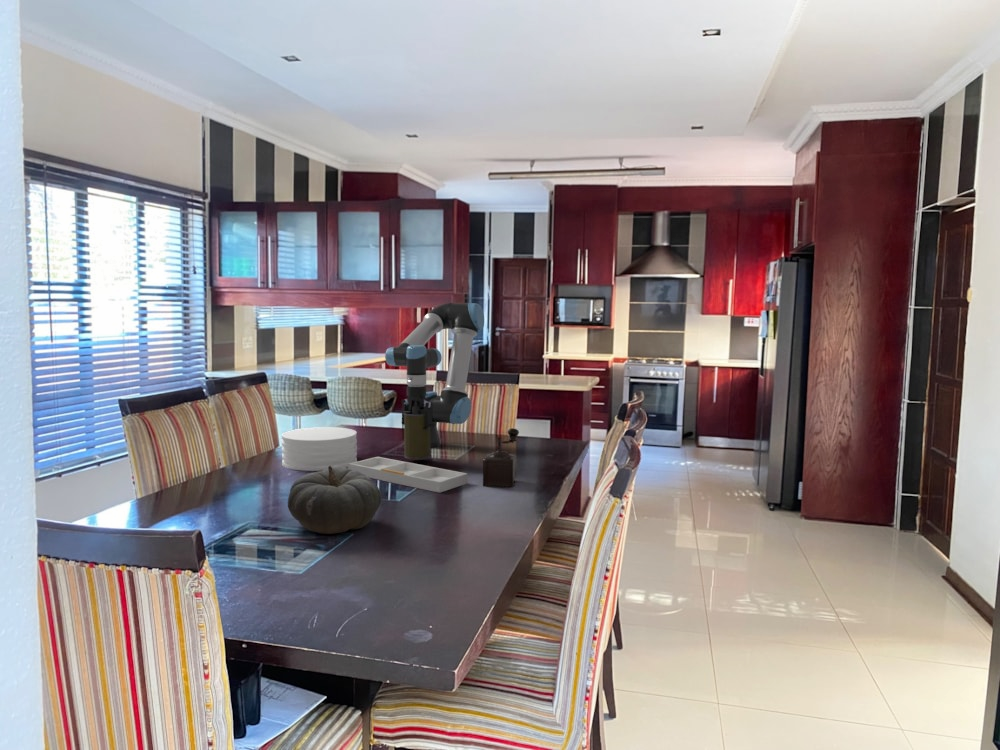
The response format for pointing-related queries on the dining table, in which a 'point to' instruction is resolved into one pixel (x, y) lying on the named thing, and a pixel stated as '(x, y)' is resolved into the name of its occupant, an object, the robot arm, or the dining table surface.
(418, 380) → the robot arm
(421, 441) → the canister
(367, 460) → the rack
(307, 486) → the gourd
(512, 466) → the pepper mill
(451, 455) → the dining table surface
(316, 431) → the plate stack
